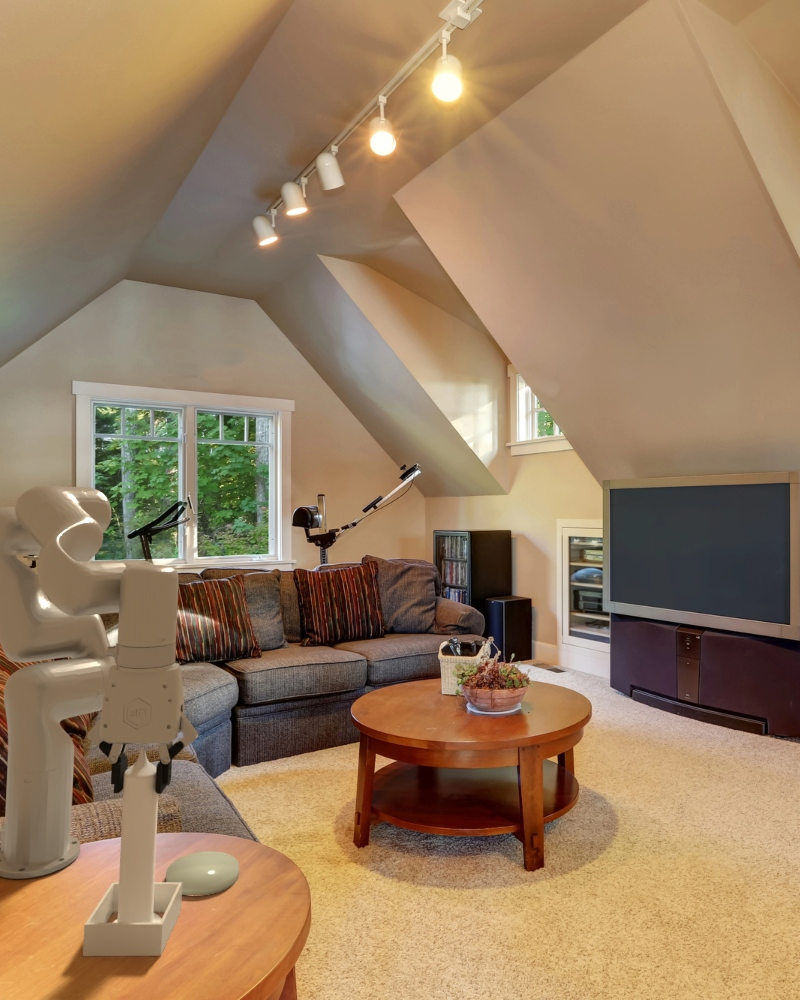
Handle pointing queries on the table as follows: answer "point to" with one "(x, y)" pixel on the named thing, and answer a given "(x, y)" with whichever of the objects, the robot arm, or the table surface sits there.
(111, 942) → the tray
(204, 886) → the pale green dome
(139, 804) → the candle
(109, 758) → the robot arm
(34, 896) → the table surface
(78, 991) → the table surface
